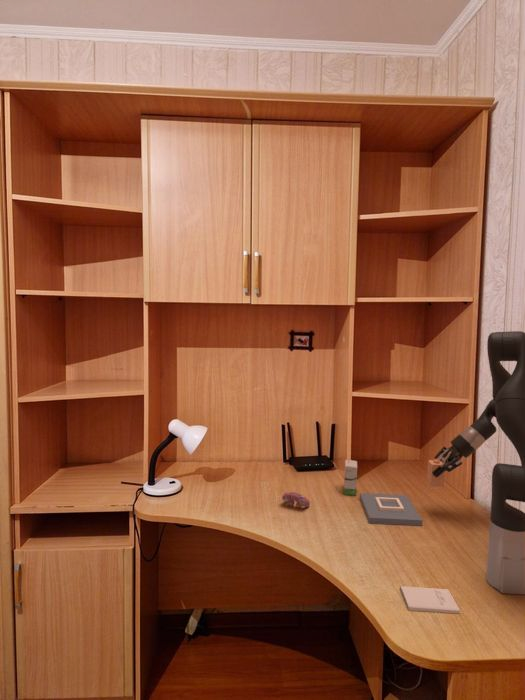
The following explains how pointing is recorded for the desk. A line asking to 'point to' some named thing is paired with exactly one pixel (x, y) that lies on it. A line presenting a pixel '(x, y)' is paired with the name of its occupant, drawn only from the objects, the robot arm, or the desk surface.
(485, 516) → the desk surface
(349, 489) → the ink box
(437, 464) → the block
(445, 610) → the external hard drive
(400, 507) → the board
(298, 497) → the purple lumpy oblong
